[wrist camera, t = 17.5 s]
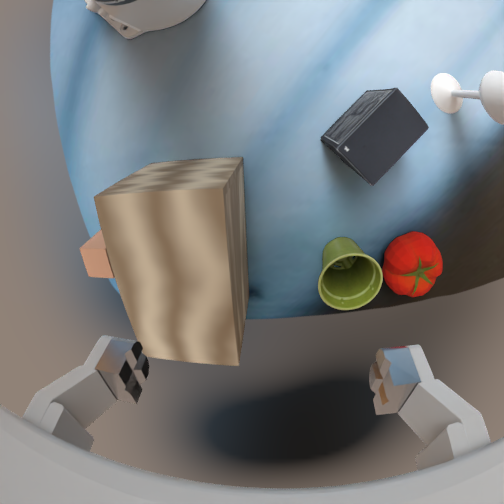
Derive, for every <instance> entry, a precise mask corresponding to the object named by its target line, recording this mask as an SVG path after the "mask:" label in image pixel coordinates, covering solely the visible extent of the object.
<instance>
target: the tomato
mask: <svg viewBox="0 0 504 504" xmlns="http://www.w3.org/2000/svg"><path fill="white" fill-rule="evenodd" d="M442 266H443V263H442V257H441V254H440V251H439V250H438V248H437V247H436V246H435V244H434V242H433V241H432V239H430V238H429V237H428V236H427V235H425V234H424V233H420V232H414V231H412V232H410V233H407V234H404V235H402V236H399V237H396V238H395V239H394V240H393V241H392V242H391V243H390V244H389V246H388V247H387V249H386V251H385V254H384V264H383V269H382V273H383V277H384V279H385V282H386V284H387V285H388V286H389V287H390V288H391V289H392V290H393V291H394V292H395V293H397V294H399V295H408V296H411V297H417V296H421V295H424V294H425V293H426V292H428V291H429V290H430V288H431V287H432V286H433V284H434V283H435V280H436V277H437V276H439V275H441V273H442Z"/></svg>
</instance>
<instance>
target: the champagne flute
mask: <svg viewBox="0 0 504 504" xmlns="http://www.w3.org/2000/svg"><path fill="white" fill-rule="evenodd" d="M431 95H432V98H433V100H434V102H435V104H436V105H437V106H438V108H439V109H441V110H442V111H443V112H445V113H451V114H452V113H455V112H457V111H458V110H459V109H460V108H461V106H462V102H463V98H472V99H480V100H481V102H482V105H483V107H484V109H485V110H486V112H487V113H488V114H489V116H490V117H491V118H492V119H493V120H495V121H496V122H498V123H500V124H504V72H502V71H495V70H494V71H490V72H488V73H486V74H485V75H484V77H483V78H482V80H481V83H480V87H479V91H472V90H462V89H461V87H460V85H459V83H458V82H457V80H456V79H455V78H454V77H452V76H451V75H449V74H446V73H440V74H437V75H436V76H435V77H434V78H433V80H432V82H431Z"/></svg>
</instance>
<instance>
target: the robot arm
mask: <svg viewBox="0 0 504 504" xmlns="http://www.w3.org/2000/svg"><path fill="white" fill-rule="evenodd" d="M205 1H206V0H85V2H86V3H87V6H86V8H87V9H89V10H90V11H92V12H95V13H96V12H97V13H98V14H99V15H101V16H102V17H103V18H104V19H105V20H106V21H107V22H108V23H109V24H110V25H112V26H113V27H114V28H115V29H116V30H117V31H118V32H119V33H120V34H121V35H122V36H123V37H125V38H127V39H133V38H135V37H137V36H139V35H141V34H143V33H145V32H148V31H153V30H161V29H165V28H169V27H172V26H174V25H177V24H179V23H181V22H183V21H184V20H186V19H187V18H189V17H190V16H192V15H193V14H194V13H195V12H196V11H198V10H199V8H200V7H201V6H202V5H203V4H204V2H205ZM127 26H128V28H127V29H126V30H125V28H126V27H127ZM142 350H143V347H142V345H141V343H140V342H138V341H133V340H127V339H122V338H116V337H110V336H105V335H103V336H102V337H100V338H99V340H98V342H97V343H96V345H95V347H94V348H93V350H92V352H91V353H90V355H89V357H88V358H87V360H86V362H85V363H84V365H83V366H78V367H77V368H75V369H74V370H72V371H70V372H69V373H67V374H65V375H64V376H62V377H61V378H59V379H57V380H56V381H54V382H53V383H51V384H49V385H48V386H46V387H44V388H43V389H41V390H40V391H38V392H36V394H35V396H34V398H33V399H32V401H31V403H30V404H29V406H28V408H27V410H26V412H25V413H24V415H23V417H22V418H21V417H20V416H18V415H16V414H15V413H13V412H11V411H10V410H9V409H7V408H5V407H4V406H2V405H1V404H0V504H504V437H503V438H500V439H498V440H496V441H494V442H492V443H491V441H490V438H489V435H488V432H487V429H486V427H485V423H484V421H483V418H482V415H481V413H480V412H478V411H477V410H476V409H475V408H474V407H472V406H471V405H470V404H469V403H467V402H466V401H465V400H464V399H462V398H461V397H460V396H459V395H457V394H456V393H455V392H454V391H452V390H451V389H450V388H449V387H447V386H446V385H445V384H443V383H442V382H441V381H439V380H438V379H437V380H435V379H434V377H433V374H432V372H431V369H430V367H429V364H428V362H427V360H426V357H425V355H424V353H423V350H422V348H421V347H420V345H411V346H400V347H391V348H381V349H379V350H378V351H377V354H376V359H377V361H376V362H375V363H373V364H372V366H371V369H370V375H369V381H370V387H371V390H372V391H374V392H375V393H376V395H375V397H374V399H373V401H374V406H375V410H376V415H380V414H389V413H396V412H398V414H399V415H400V416H401V417H402V419H403V420H404V421H405V422H406V423H407V424H408V425H409V426H410V428H411V429H412V430H413V431H414V432H415V433H416V434H417V436H418V437H419V438H420V439H421V440H422V441H423V442H424V443H425V445H426V447H425V448H424V449H423V450H422V451H421V452H420V453H418V455H417V456H416V457H415V458H416V463H417V469H418V471H414V472H410V473H406V474H403V475H398V476H394V477H389V478H385V479H379V480H374V481H368V482H362V483H355V484H348V485H340V486H331V487H317V488H295V489H294V488H293V489H273V488H272V489H271V488H270V489H269V488H249V487H236V486H225V485H218V484H210V483H203V482H197V481H191V480H186V479H181V478H176V477H171V476H167V475H162V474H158V473H154V472H150V471H146V470H143V469H139V468H136V467H132V466H129V465H126V464H123V463H120V462H117V461H114V460H111V459H108V458H105V457H103V456H100V455H97V454H94V453H92V452H90V449H91V447H92V444H93V441H94V439H93V436H91V434H89V433H88V432H87V431H86V430H85V429H86V428H87V427H88V426H89V425H90V424H91V423H93V422H94V421H95V420H96V419H97V418H98V417H99V416H101V415H102V414H103V413H104V412H105V411H106V410H108V409H109V408H110V407H111V406H112V405H113V404H114V403H116V402H117V400H120V401H125V402H129V403H134V404H137V402H138V400H139V397H140V395H141V392H142V387H141V384H142V383H143V382H145V381H146V380H147V377H148V374H149V361H148V359H147V356H145V355H144V354H143V353H142Z"/></svg>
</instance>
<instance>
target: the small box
mask: <svg viewBox="0 0 504 504" xmlns="http://www.w3.org/2000/svg"><path fill="white" fill-rule="evenodd" d="M428 128H429V127H428V125H427V124H426V122H425V121H424V120H423V118H422V117H421V116H420V114H419V113H418V112H417V111H416V109H415V108H414V107H413V106H412V104H411V103H410V102H409V101H408V100H407V98H406V97H405V96H404V95H403V94H402V93H401V91H400V90H399V89H398V88H393V89H385V90H384V89H383V90H370V91H368V90H367V91H366V92H365V93H364V94H363V95H362V96H361V97H360V98H359V99H358V100H357V101H356V102H355V103H354V104H353V105H352V106H351V107H350V108H349V109H348V110H347V111H346V112H345V113H344V114H343V115H342V116H341V117H340V118H339V119H338V120H337V121H336V122H335V123H334V124H333V125H332V126H331V127H330V128H329V129H328V130H327V131H326V133H325V134H324V135H323V136H322V137H321V141H322V142H323V143H325V144H326V145H327V146H328V147H329V148H330V149H332V151H334V152H335V153H336V155H338V156H339V157H340V159H341V160H342V161H343V162H344V163H346V164H347V165H348V166H349V167H350V168H352V169H353V170H354V171H355V172H356V173H357V174H359V175H360V176H361V177H362V178H363V179H364V180H366V181H367V182H368V183H369V184H370V185H371V186H373V185H374V184H375V183H376V182H377V181H378V180H379V179H380V178H381V177H382V176H383V175H384V174H385V173H386V172H387V171H388V170H389V169H390V168H391V167H392V166H393V165H394V164H395V163H396V162H397V161H398V160H399V159H400V157H401V156H402V155H403V154H404V153H405V152H406V151H407V150H408V149H409V148H410V147H411V146H412V145H413V144H414V143H415V142H416V141H417V140H418V139H419V138H420V137H421V136H422V135H423V134H424V133H425V132H426V130H427V129H428Z"/></svg>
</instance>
